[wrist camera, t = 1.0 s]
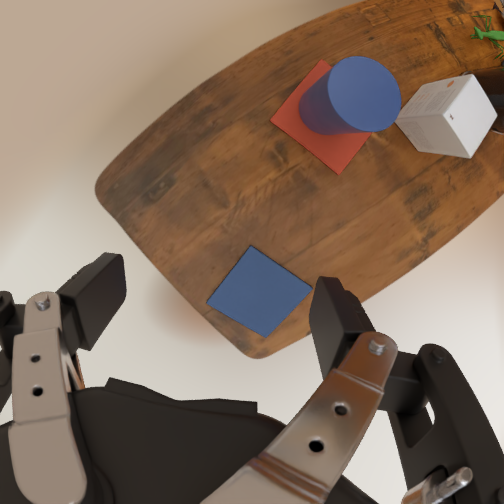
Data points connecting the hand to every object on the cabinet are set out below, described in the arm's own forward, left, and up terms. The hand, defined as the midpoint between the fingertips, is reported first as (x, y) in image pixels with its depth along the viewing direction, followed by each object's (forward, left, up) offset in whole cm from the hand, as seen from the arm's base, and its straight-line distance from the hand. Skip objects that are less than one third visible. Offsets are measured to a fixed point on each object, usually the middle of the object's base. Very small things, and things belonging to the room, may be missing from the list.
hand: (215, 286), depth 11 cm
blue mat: (+9, +10, -22) cm, 26 cm away
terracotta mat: (-14, +3, -22) cm, 26 cm away
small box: (-23, +12, -22) cm, 34 cm away
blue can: (-14, +2, -21) cm, 25 cm away
